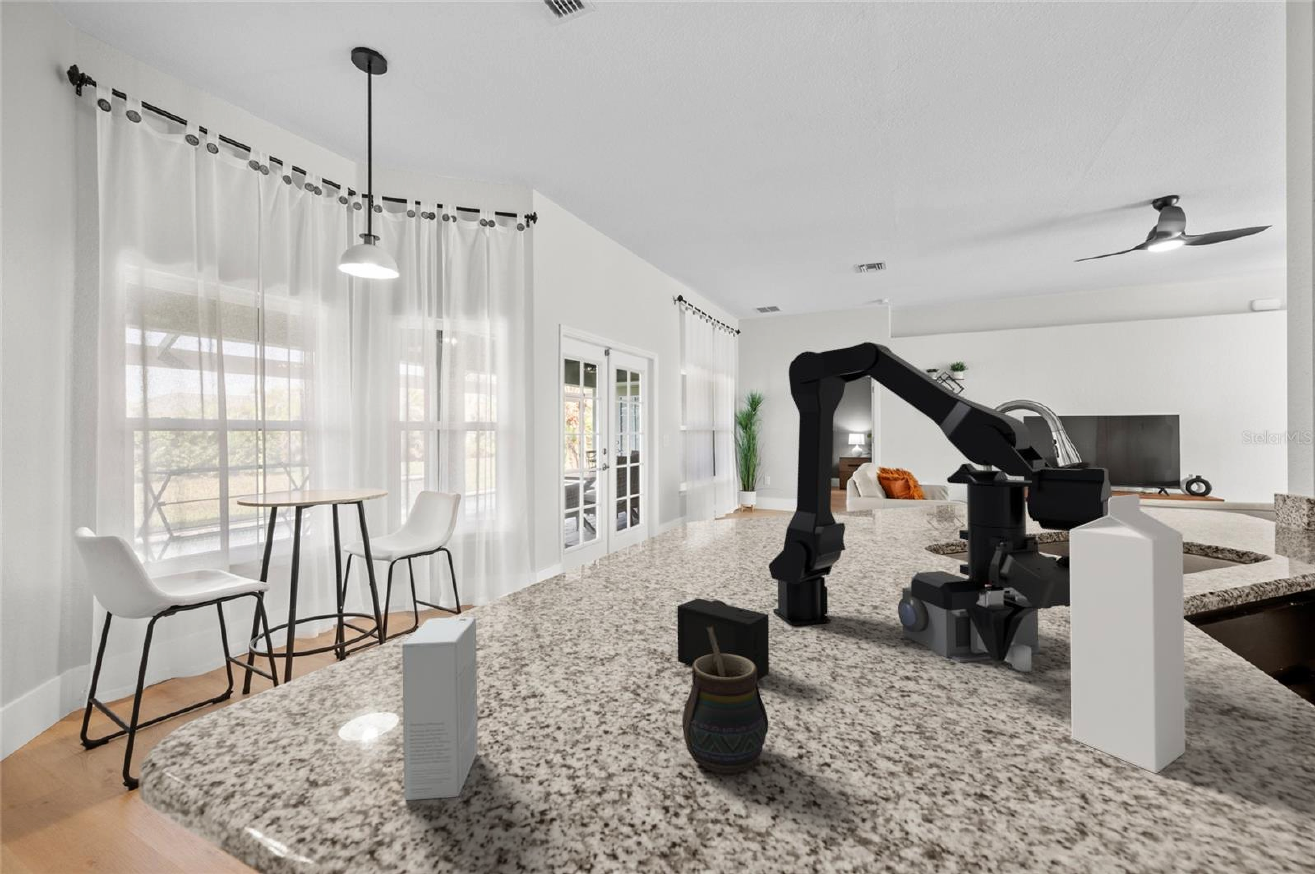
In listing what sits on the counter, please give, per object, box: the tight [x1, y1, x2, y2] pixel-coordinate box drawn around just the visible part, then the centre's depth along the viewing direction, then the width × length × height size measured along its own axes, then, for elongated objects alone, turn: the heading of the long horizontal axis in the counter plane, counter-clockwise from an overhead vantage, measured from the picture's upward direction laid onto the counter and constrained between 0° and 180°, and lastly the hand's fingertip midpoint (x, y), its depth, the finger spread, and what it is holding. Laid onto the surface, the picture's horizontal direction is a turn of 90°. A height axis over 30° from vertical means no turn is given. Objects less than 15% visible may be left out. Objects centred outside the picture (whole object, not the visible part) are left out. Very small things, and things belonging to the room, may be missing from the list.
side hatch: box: [971, 620, 1032, 672], centre depth 64 cm, size 6×7×5 cm
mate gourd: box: [681, 626, 769, 775], centre depth 46 cm, size 7×8×10 cm
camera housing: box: [897, 585, 1047, 663], centre depth 71 cm, size 16×10×7 cm, turn 103°
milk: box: [1069, 493, 1186, 774], centre depth 47 cm, size 6×6×22 cm
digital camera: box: [676, 597, 770, 682], centre depth 65 cm, size 10×5×7 cm, turn 49°
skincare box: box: [401, 616, 479, 801], centre depth 44 cm, size 6×4×12 cm
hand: (997, 660), depth 62 cm, fingers closed
